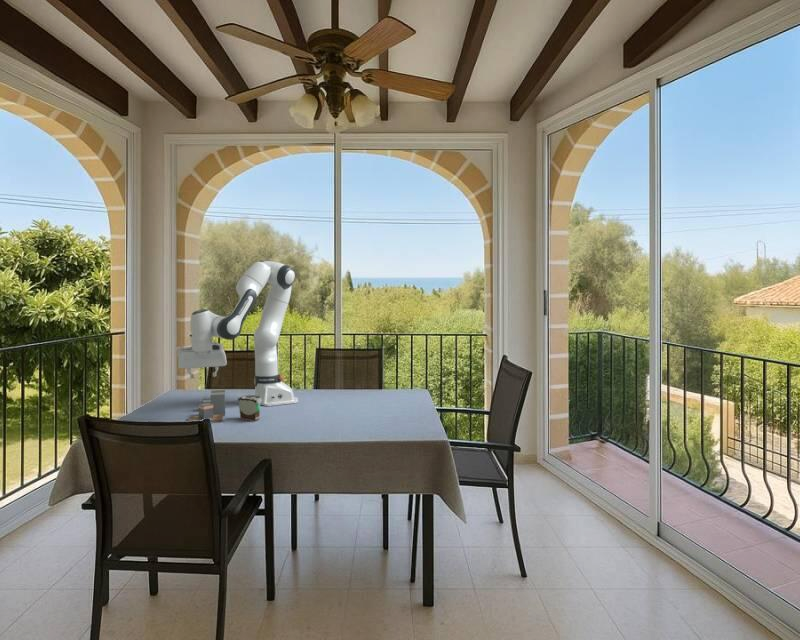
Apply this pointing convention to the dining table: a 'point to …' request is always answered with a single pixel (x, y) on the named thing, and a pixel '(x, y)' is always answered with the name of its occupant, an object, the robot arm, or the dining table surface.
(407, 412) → the dining table surface
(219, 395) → the grey upright block
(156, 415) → the dining table surface
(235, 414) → the dining table surface
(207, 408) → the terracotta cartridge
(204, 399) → the grey cartridge
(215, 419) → the pad
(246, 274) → the robot arm
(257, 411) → the food container
